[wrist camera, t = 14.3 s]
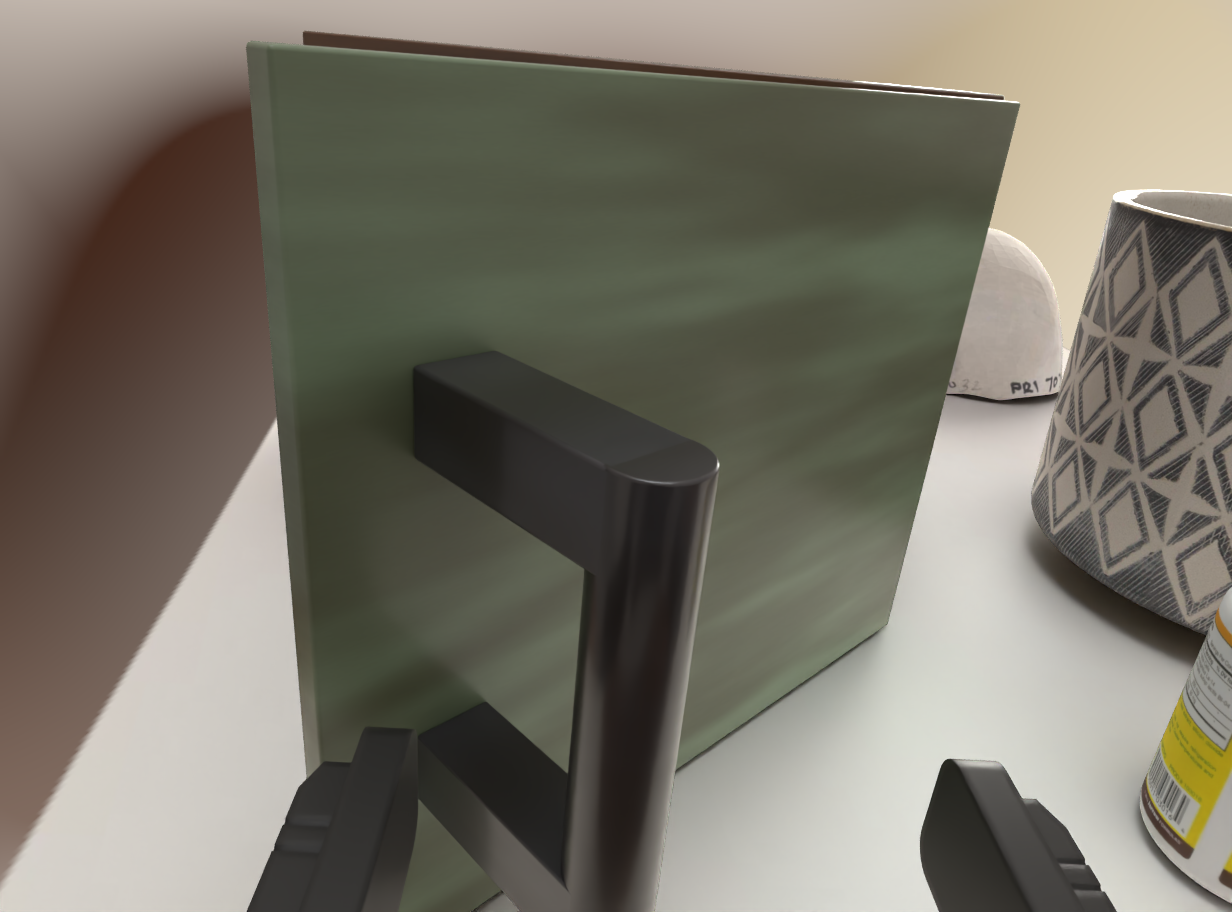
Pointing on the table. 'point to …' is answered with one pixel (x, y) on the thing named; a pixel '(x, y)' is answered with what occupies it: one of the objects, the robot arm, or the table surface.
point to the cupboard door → (594, 421)
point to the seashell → (1009, 327)
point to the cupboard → (602, 63)
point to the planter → (1149, 411)
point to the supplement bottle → (1198, 768)
